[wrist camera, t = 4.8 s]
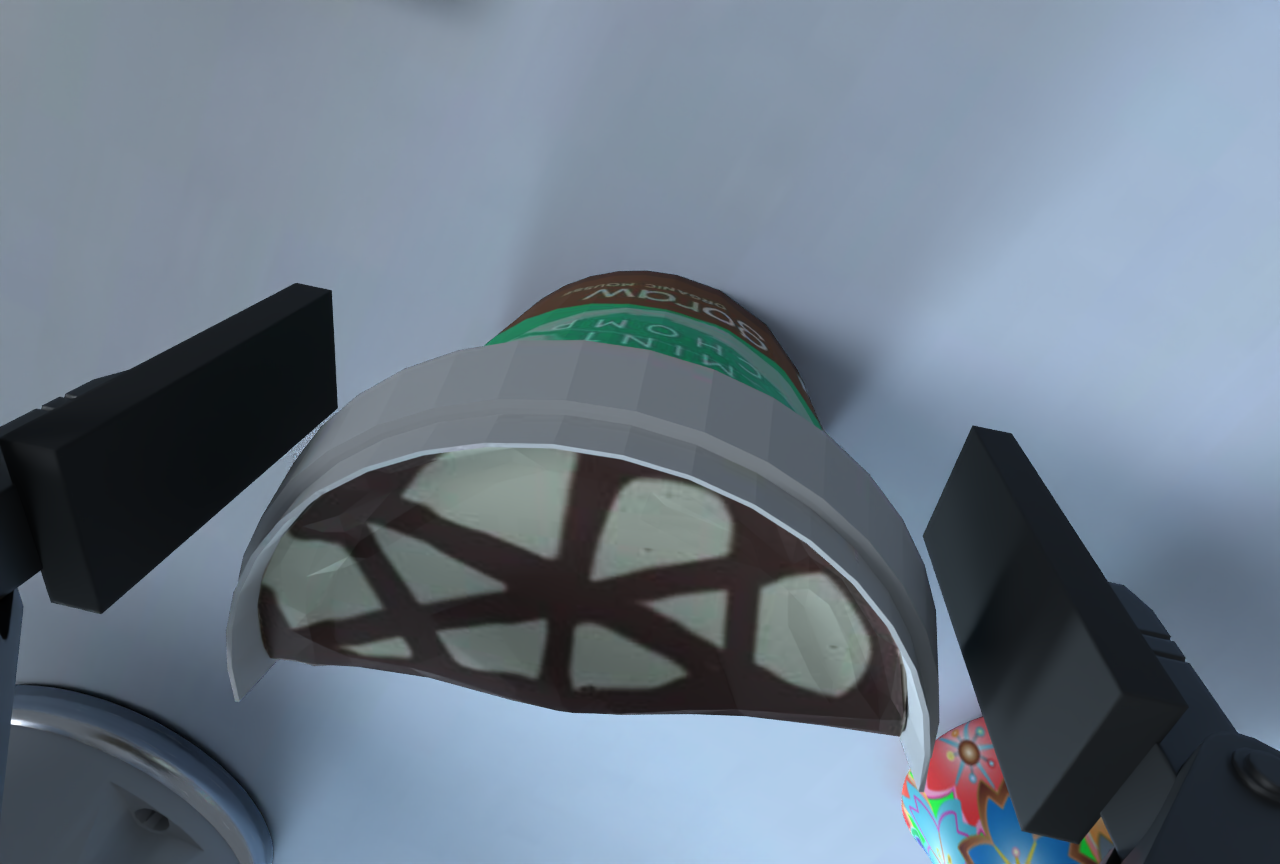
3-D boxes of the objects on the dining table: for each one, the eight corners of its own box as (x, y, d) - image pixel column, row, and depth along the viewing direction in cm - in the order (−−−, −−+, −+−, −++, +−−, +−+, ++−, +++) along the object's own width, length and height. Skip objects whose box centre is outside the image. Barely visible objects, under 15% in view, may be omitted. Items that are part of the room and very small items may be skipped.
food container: (911, 237, 17) (1094, 447, 8) (864, 464, 20) (960, 798, 11) (404, 207, 18) (81, 361, 9) (431, 425, 21) (205, 698, 12)
